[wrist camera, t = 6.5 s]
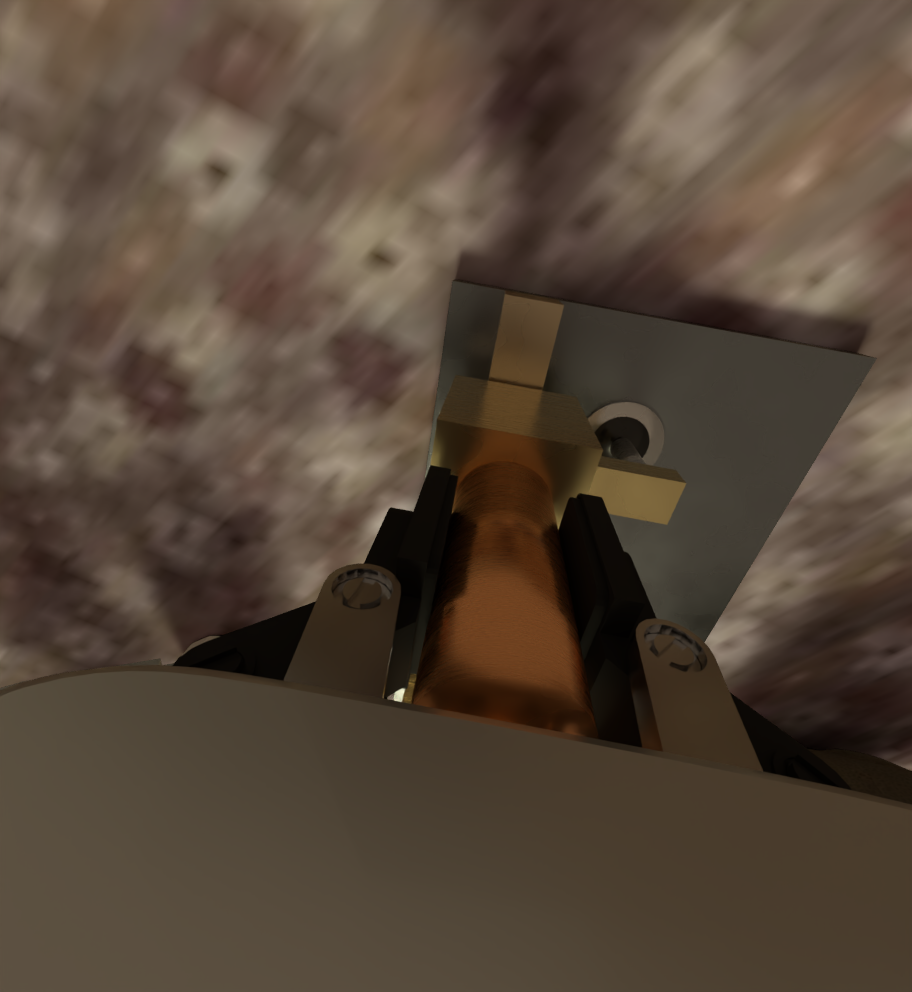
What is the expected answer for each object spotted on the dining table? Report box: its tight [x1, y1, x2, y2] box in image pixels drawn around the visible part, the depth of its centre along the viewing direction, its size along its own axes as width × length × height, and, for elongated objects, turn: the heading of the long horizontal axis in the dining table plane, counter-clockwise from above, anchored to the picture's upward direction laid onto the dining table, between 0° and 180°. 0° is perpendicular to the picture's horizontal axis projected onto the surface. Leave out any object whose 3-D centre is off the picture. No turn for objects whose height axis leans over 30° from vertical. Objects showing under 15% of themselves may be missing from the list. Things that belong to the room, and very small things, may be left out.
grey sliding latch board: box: [394, 280, 877, 704], centre depth 20 cm, size 26×16×8 cm, turn 171°
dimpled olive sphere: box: [808, 749, 912, 805], centre depth 22 cm, size 14×14×15 cm
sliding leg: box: [411, 375, 686, 739], centre depth 13 cm, size 4×8×14 cm, turn 81°
